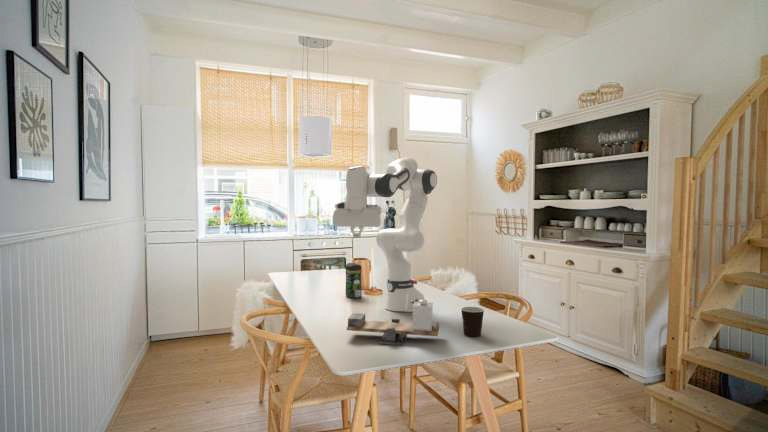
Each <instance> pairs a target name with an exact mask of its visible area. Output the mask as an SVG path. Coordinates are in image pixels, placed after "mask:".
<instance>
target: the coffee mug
mask: <svg viewBox="0 0 768 432" xmlns="http://www.w3.org/2000/svg"><path fill="white" fill-rule="evenodd" d="M484 312H485V309H483V308H482V307H479V306H478V307H477V306H463V307H461V318H462V329H463V335H464V337H468V338H479V337H481V335H482V328H483V319H484Z"/></svg>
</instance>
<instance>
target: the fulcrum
mask: <svg viewBox="0 0 768 432" xmlns="http://www.w3.org/2000/svg"><path fill="white" fill-rule="evenodd" d="M391 322H396V323H401V322H400V318H391ZM405 336H406V334H395V328H387V333H382V336H381V338H380V340H379V345H382V346H384V345H385V346H399V347H401V346H402V345H403V343H404V339H405Z"/></svg>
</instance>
